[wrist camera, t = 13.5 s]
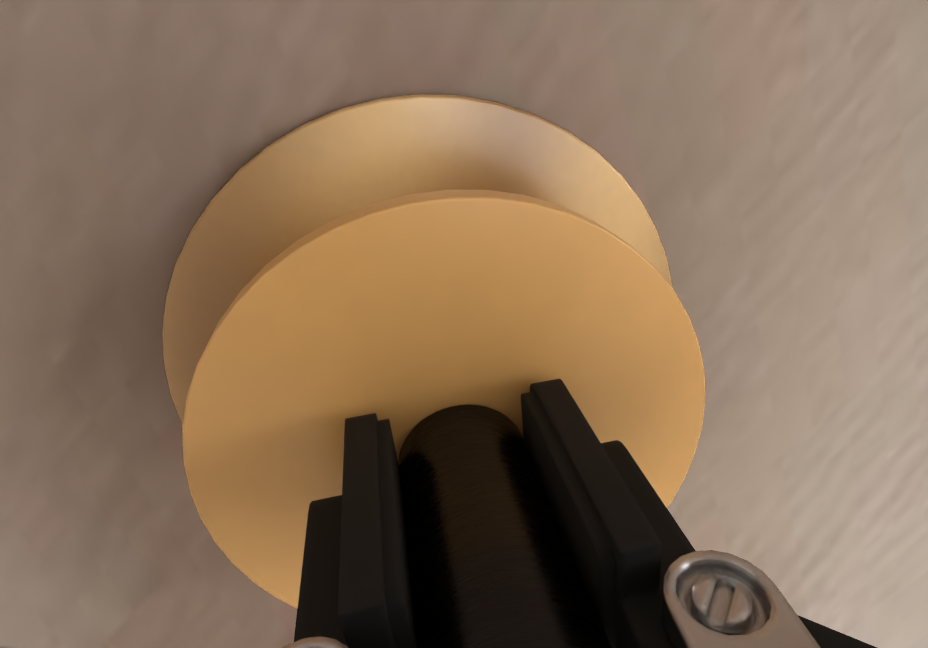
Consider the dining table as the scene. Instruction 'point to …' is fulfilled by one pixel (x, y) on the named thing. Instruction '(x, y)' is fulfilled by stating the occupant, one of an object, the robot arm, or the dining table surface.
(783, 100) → the dining table surface
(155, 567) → the dining table surface
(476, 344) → the shaker lid
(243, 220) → the coaster
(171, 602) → the dining table surface
